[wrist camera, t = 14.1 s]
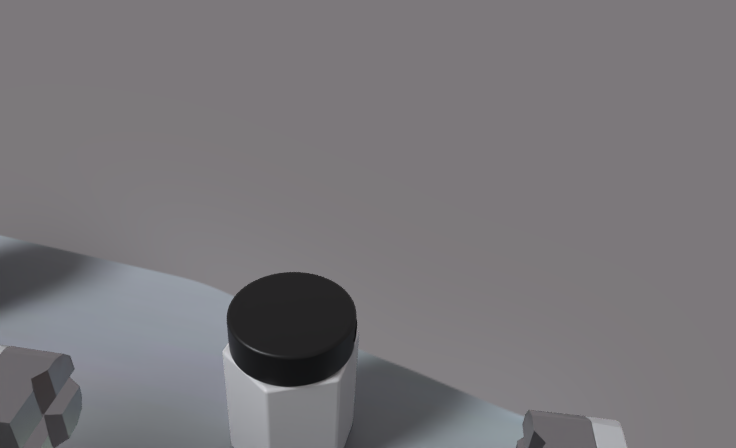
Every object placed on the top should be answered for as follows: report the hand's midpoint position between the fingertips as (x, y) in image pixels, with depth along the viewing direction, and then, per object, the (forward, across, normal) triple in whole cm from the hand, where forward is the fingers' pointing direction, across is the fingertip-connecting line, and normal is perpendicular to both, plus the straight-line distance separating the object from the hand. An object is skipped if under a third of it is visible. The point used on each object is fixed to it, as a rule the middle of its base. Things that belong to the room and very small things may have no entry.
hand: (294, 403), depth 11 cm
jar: (+22, -5, -30) cm, 38 cm away
